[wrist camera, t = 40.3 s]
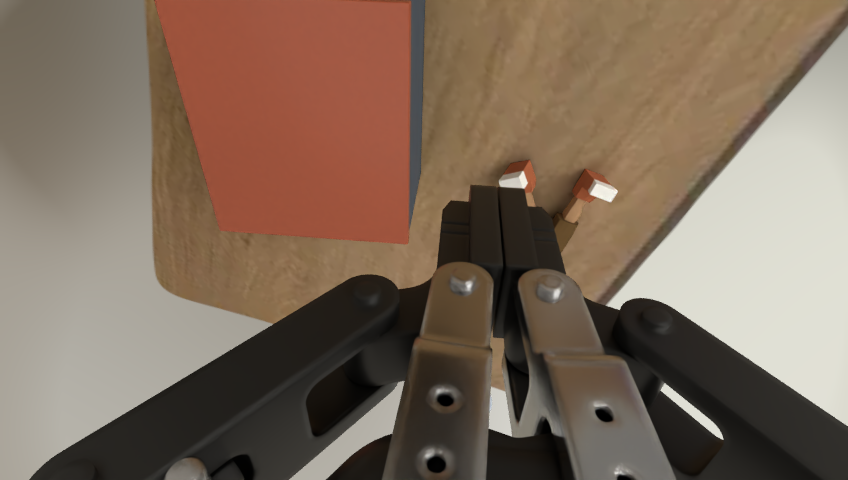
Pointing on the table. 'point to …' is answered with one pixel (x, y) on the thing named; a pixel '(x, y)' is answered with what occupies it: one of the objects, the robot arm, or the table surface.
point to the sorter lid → (299, 112)
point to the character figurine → (584, 191)
